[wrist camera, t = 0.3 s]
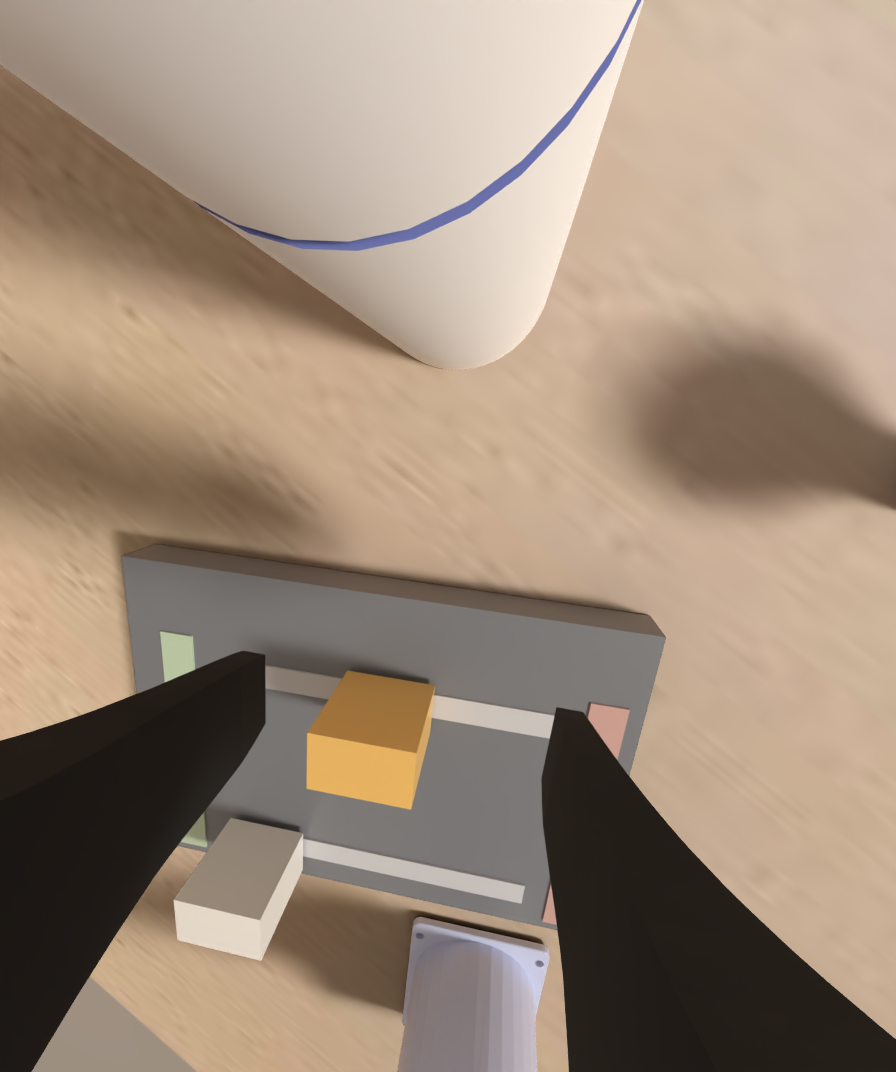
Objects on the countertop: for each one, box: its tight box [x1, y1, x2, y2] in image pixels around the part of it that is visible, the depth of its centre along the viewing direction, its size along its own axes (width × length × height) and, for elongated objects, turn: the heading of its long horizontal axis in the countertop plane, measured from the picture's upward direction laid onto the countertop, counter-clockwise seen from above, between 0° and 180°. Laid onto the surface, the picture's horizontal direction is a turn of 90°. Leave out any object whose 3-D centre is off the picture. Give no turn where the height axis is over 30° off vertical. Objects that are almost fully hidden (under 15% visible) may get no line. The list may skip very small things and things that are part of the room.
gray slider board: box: [121, 544, 666, 930], centre depth 21 cm, size 17×24×2 cm
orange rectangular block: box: [306, 670, 435, 810], centre depth 17 cm, size 2×4×4 cm, turn 85°
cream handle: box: [174, 818, 303, 961], centre depth 20 cm, size 2×4×4 cm, turn 84°
